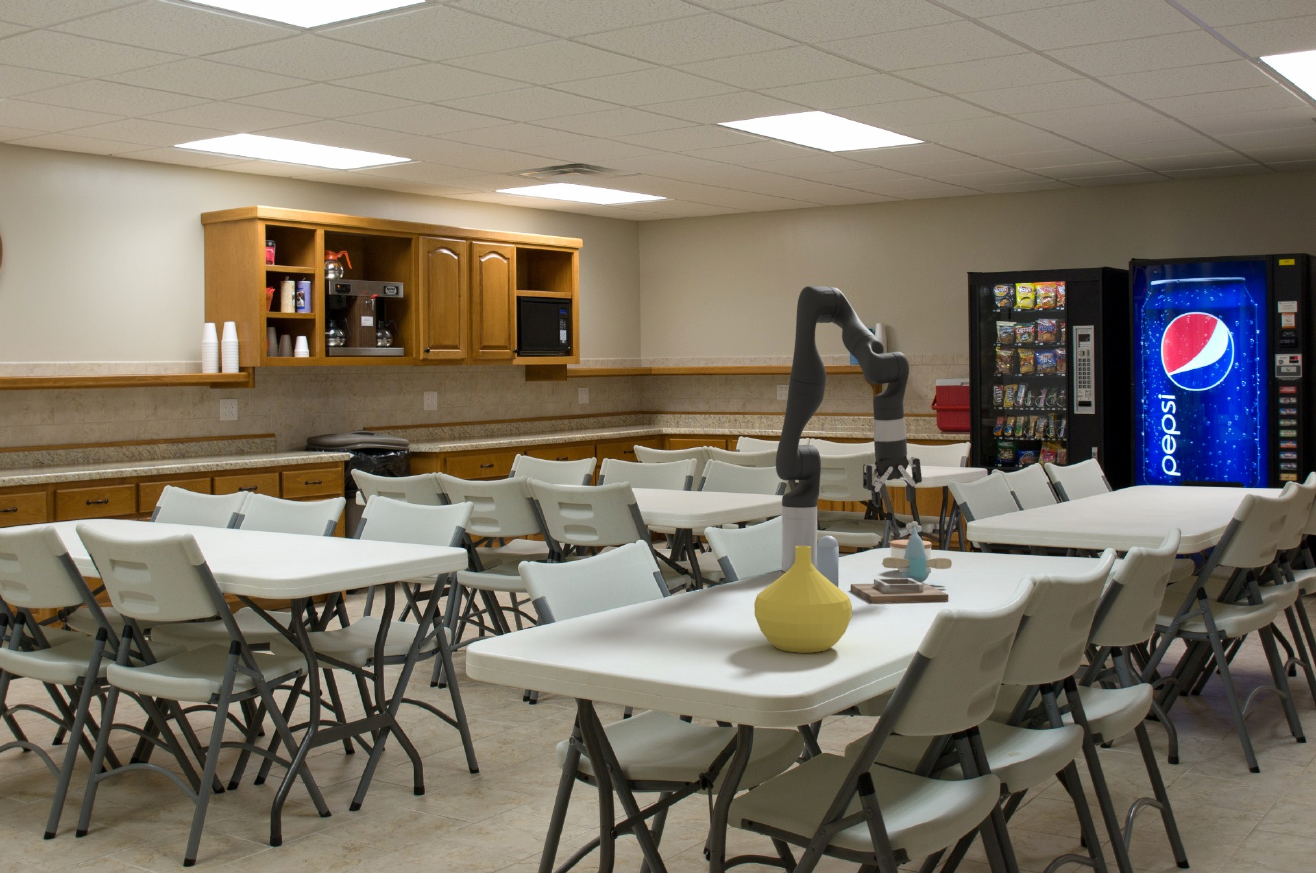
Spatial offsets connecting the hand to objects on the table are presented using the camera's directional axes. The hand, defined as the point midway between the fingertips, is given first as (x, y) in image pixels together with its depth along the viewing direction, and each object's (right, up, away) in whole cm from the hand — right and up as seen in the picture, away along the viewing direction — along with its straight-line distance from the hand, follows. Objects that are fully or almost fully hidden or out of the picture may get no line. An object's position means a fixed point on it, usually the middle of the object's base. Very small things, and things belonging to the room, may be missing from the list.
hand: (893, 503), depth 297 cm
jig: (0, -21, -6) cm, 22 cm away
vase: (-29, -24, -62) cm, 72 cm away
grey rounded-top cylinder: (-17, -21, -8) cm, 28 cm away
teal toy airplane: (+8, -21, +12) cm, 25 cm away
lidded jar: (+10, -20, +31) cm, 38 cm away
